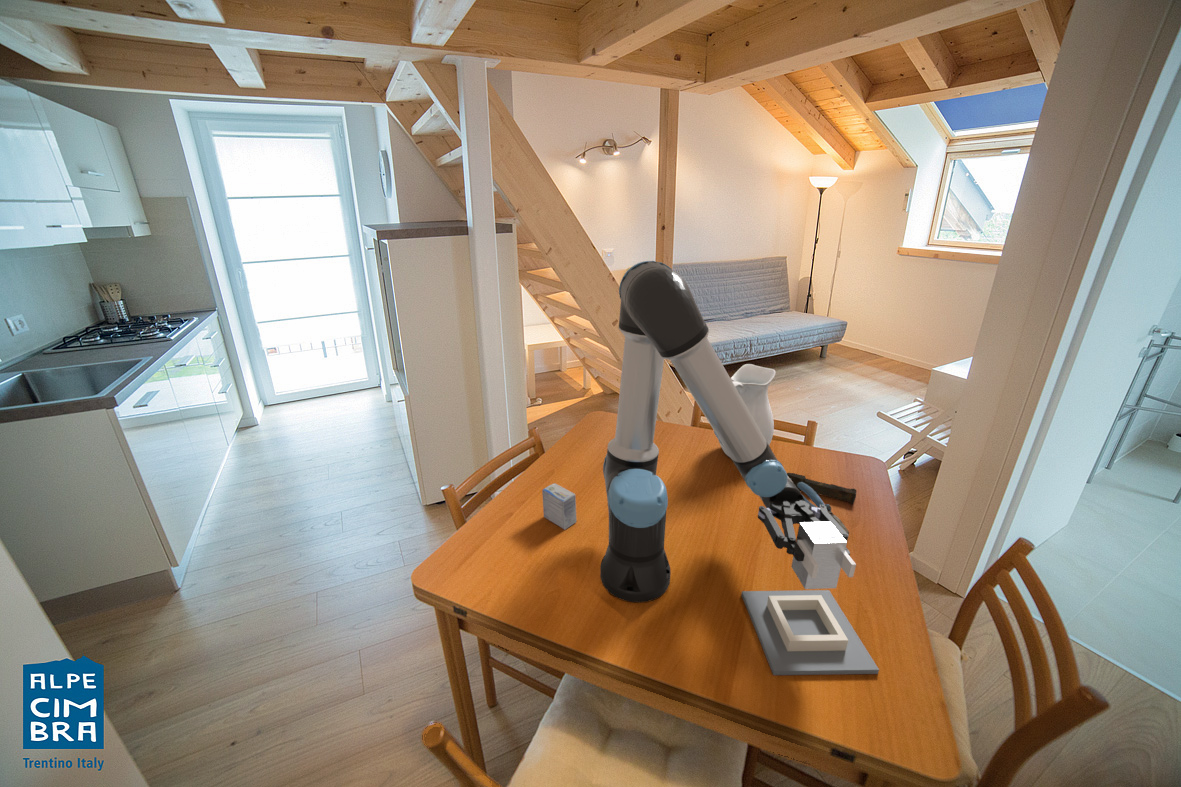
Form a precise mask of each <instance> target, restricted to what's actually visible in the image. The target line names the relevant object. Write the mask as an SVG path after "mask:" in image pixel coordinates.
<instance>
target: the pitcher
mask: <svg viewBox="0 0 1181 787" xmlns="http://www.w3.org/2000/svg"><path fill="white" fill-rule="evenodd" d="M776 374H777V373H776V369H774V368H769V367H763V366H759V365H755V364H752V363H746V364H743V365H742V366H741V367H740V368H738V369H737V371H735V373H734V374H733V375H732V376H731V377H730V379H731V380H732V382H733V384H734V386H735V387H736V389H737V391H738V392H739V394H740V396H741V398H742V399H743V401H744V403H745V405H746V406H747V408H748V410H749V412H750V413H751V415H752V417H753V419H754V420H755V422H756V424H757V425H758V427H759V429H760V431H761V432H762V434H763V436H764V438H765V439H766V442H767V443H768V445H769V446H770V444H771V442H772V440H773V436H774V429H775V424H774V415H773V412H772V407H771V405H770V401H769V395H768V394H769V387H770V384H771V383H772V381H773V380H774V379H775V377H776ZM718 443H719V445H720V448H721V449H722V451H723V453H724V454H725V455H726V456H727V457H728V458H730V459H731V457H730V456H729V454H728V452H727V451H726V449H725V448H724V446H723V445H722V444H721V443H720V442H719V441H718Z"/></svg>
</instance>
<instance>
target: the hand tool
mask: <svg viewBox="0 0 1181 787" xmlns="http://www.w3.org/2000/svg"><path fill="white" fill-rule="evenodd" d="M786 473H787V475H788V477H789V478H790V479H791V480H792V482H793V483H794V484H795V486H796V487H797V484H798V483H799V482H803V483H805V484H807V485H808V486H810V487H811V488H812V489H813V490H814V491H815V492H816V493H817V494H818V495H821V496H824V497H827V498H832V499H836V500H840V501H843V502H844V501H845V502H849V503H850V505H854V503H855V501H856V498H857V489H856V488H847V487H843V486H839V485H836V484H833V483H831V484H829V483H826V482H822V481H817V480H813V479H810V478H806V475H803V474H798V473H794V472H786ZM797 488H798V487H797ZM798 490H799V491H800V492H801V493H802V492H803V491H802V490H801V489H799V488H798Z"/></svg>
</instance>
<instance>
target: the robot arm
mask: <svg viewBox="0 0 1181 787" xmlns="http://www.w3.org/2000/svg"><path fill="white" fill-rule="evenodd" d="M618 294H619V299H620V305H619V306H620V307H619V318H618V320H619V321H618V330H619V331H620V332H621V334H622V335H623V336H624V342H623V343H624V345H623V346H624V347H623V354H622V355H623V356H622V364H621V365H622V366H621V375H620V387H619V394H618V395H619V396H618V403H617V404H618V406H617V416H616V426H615V434H614V438H613V439H611V440H610V441H609V442H607V443H608V444H607V448H606V455H605V458H604V461H603V465H602V467H603V468H602V469H603V472H602V473H603V478H604V484H605V491H606V492H605V493H606V501H607V508H608V509H607V510H608V511H607V512H608V545H607V548H606V551H605V553H604V555H603V557H602V560H601V562H600V568H599V569H600V570H599V572H600V576H599V577H600V582H601V584H602V585H603V587H604V588H605V590H606V591H607V592H608V593H609V594H611V595H612V596H614V597H615V598H618V599H620V600H622V601H626V602H628V603H629V602H632V603H645V602H646V603H647V602H650V601H651V602H652V601H653V600H655V599H656V600H657V599H658V598H660V597H661V596H662V595H664V594H665V593H666V591H667V590H668V588H669V587H670V583H671V573H672V572H671V566H670V562H669V560H668V557H667V553H666V550H665V538H666V520H667V509H668V503H669V499H668V492H667V491H668V490H667V487H666V484H665V483H664V481H663V480H662V478H661V477H659V476H658V475H657V470H658V461H659V460H658V459H659V455H660V453H659V452H660V449H659V448H658V446H657V445H656V443H654V440H655V439H654V438H655V434H656V433H655V431H656V423H657V417H658V415H657V414H658V411H659V410H658V408H659V400H660V396H661V395H660V394H661V385H662V377H663V369H664V363H665V360H669V361H670V363H671V364H672V366H673V368H675V370H676V372H677V373H678V375H679V377H680V379H681V380H682V381H683V383H684V385H685V387H686V388H687V389H688V391H689V393H690V394H691V396H692V398H693V399H694V400H695V403H696V404H697V405H698V407H699V408H700V410H701V412H702V414H703V415H704V416H705V418H706V420H707V421H708V423H709V424H710V426H711V428H712V430H713V433H714V435H715V437H716V438H717V440H718V443H719V442H720V443H721V444H722V445H723V446H724V448H725V449H726V451H727V452H728V454H729V456H730V457H731V458H730V457H729V456H728V457H729V458H730V459H731V460H732V462H733V464H734V465H735V467H736V468H737V470H738V471H739V473H740V475H741V477H742V478H743V481H744V482H745V484H746V486H747V488H749V489H750V491H751V492H752V493H753V494H755V495H756V496H758V497H759V499H760V500H761V501H762V503H763V505H760V506H759V507H758V513H757V519H759V520H760V522H761V523H762V524H763V525H764V527H765V528H766V530H767V533H768V534H769V536H770V538H771V540H772V541H773V543H774V546H775V548H776V549H779V550H782V549H783V548H785V549H786V551H785V552H786V554H788V555H792V557H793V556H794V558H795V559H796V560H797V561H801V562H802V564H803V566H804V567H805V569H806V570H807V572H808V573H809V575H810V577H811V578H816V576H817V572H818V567H819V565H818V564H817V562H816V561H815V559H814V558H813V556H812V555H811V553H810V552H809V550H808V549H807V547H806V546H805V544H804V543H803V542H802V540H797V535H796V533H795V528H794V525H795V524H797V525H799V524H800V523H801V522H831V523H832V524H833V525H834V527H835V528H836V529H837V530H838V532H839V533H840V534H841V535H842V537H843V538H844V539H845V540H846V542H847V543H848V539H849V535H850V534H849V535H848V534H847V533H846V531H845V530H844V529H843V528H842V527H841V526H840V525H839V524H838V523H837V521H836V520H835V519H834V518H833V517H832V516H831V515H830V514H829V513H828V511H827V508H826V506H825V505H826V504H825V505H820V506H819V508H818V507H817V506H816V507H811V505H810V504H809V503H807V502H805V500H804V498H803V496H804V495H803V494H802V491H801V492H800V491H799V490H798V488H797V487H796V486H795V484H794V483H793V482H792V480H791V479H790V478H789V477H788V475H787V473H788V472H787V471H786V469H785V468H784V466H783V463H781V462H780V461H779V460H778V459H777V457H776V455H775V453H774V452H773V450H772V449H771V446H770V445H768V443H767V442H766V439H765V438H764V436H763V434H762V432H761V431H760V429H759V427H758V425H757V424H756V422H755V420H754V419H753V417H752V415H751V413H750V412H749V410H748V408H747V406H746V405H745V403H744V401H743V399H742V398H741V396H740V394H739V392H738V391H737V389H736V387H735V386H734V384H733V382H732V380H731V377H730V375H729V373H728V372H727V370H726V368H725V367H724V365H723V363H722V361H721V360H720V358H719V356H718V355H717V353H716V351H715V350H714V349H715V348H714V347H713V346H712V344H711V342H710V340H709V339H708V336H709V333H710V329H709V327H708V325H707V323H706V321H705V320H704V317H703V316H702V314H701V312H700V310H699V307H698V305H697V303H696V300H695V298H694V295H693V294H692V292H691V289H690V288H689V285H688V283H687V282H686V281H685V279H684V277H683V276H681V275H680V274H679V273H678V272H676V271H674V270H673V269H672V268H671V267H670V266H669V265H667V264H666V263H663V262H661V261H655V260H646V261H645V260H644V261H640V262H637V263H635V264H634V265H632V266H631V267H630V268H628V269H627V270H626V271H625V273H624V275H623V276H622V278H621V281H620V283H619V287H618ZM720 443H719V444H720ZM802 495H803V496H802ZM775 518H776V519H778V520H779V521H780V523H781V528H782V529H781V528H780V525H779V524H778V522H777V520H776V519H775ZM782 530H783V531H782ZM796 540H797V542H796ZM850 555H851V551H850V550H849V549H848V548H847V547H846V549H845V553H844V557H843V561H842V565H841V569H842V570H843V572H844V573H845V575H846V576H847V578H854V575H855V571H856V568H857V567H856V566H857V564H856V562H855V561H854V559H853V558H852V557H851V556H850Z"/></svg>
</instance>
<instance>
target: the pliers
mask: <svg viewBox="0 0 1181 787" xmlns="http://www.w3.org/2000/svg"><path fill="white" fill-rule="evenodd" d="M797 487H798V488H799V489H801V490H802V491H801V492H804V494H806V495H807V497H808V498H809V499H810V500H811V501H812V502H813V503H814V504H813V503H811V501H809V500H808V499H807V498H806V497H805V496H804V495H803V494H802V496H803V498H804V500H805V502H807V503H809V504H810V505H811V507H817V508H819V506H820V505H825V506H826V508H827V511H828V513H829V514H830V515H831V516H832V517H833V518H834V519H835V520H836V521H837V523H838V524H839V525H840V526H841V527H842V528H843V529H844V530H845V531H846V533H847V534H848V535H850V531H849V530H848V527H846V525H845V523H843V521H842V519H840V517H838V516H837V515H835V514H834V513H833V512H832V506H831V505H830V504H828V503H827V504H826V503H824V501H823V500H822V498H821V497H820V496H819V494H817V493H816V492H815V491H814V490H813V489H812V488H811V487H810V486H808V485H807V484H805V483H803V482H799V483H798V484H797Z"/></svg>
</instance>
